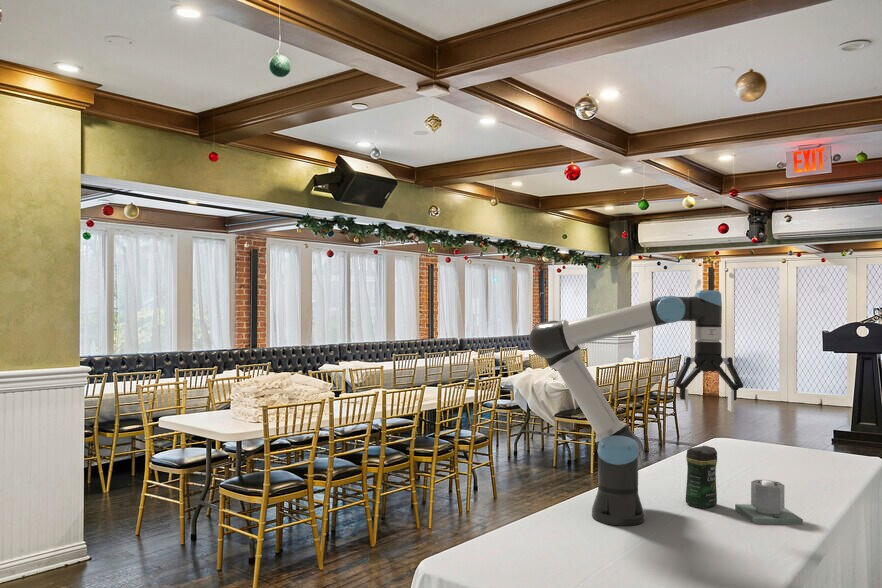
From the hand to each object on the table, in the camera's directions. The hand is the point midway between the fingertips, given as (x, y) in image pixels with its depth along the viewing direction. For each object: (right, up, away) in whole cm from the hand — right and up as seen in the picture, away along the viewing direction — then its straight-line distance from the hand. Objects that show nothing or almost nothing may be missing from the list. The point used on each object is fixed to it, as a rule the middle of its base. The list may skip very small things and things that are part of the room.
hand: (708, 410), depth 207 cm
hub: (+18, -29, -1) cm, 34 cm away
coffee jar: (+2, -32, +11) cm, 34 cm away
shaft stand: (+18, -32, -1) cm, 36 cm away
